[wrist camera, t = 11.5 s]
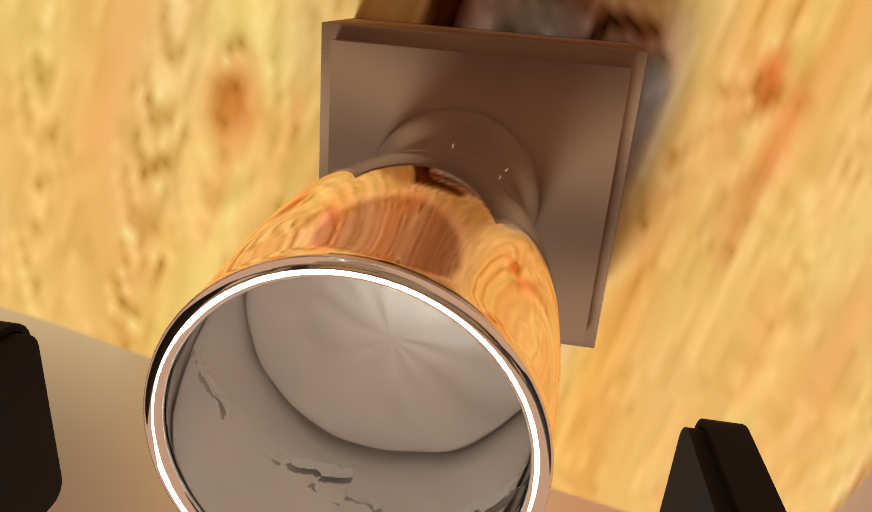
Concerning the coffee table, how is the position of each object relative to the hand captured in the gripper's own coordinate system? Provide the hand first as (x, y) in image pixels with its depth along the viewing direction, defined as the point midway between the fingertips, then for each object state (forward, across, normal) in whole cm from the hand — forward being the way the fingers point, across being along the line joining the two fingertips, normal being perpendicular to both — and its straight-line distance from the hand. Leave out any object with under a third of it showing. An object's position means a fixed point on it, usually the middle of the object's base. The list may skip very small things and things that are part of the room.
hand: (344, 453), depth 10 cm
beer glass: (+16, 0, +1) cm, 16 cm away
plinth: (+21, 0, +1) cm, 21 cm away
